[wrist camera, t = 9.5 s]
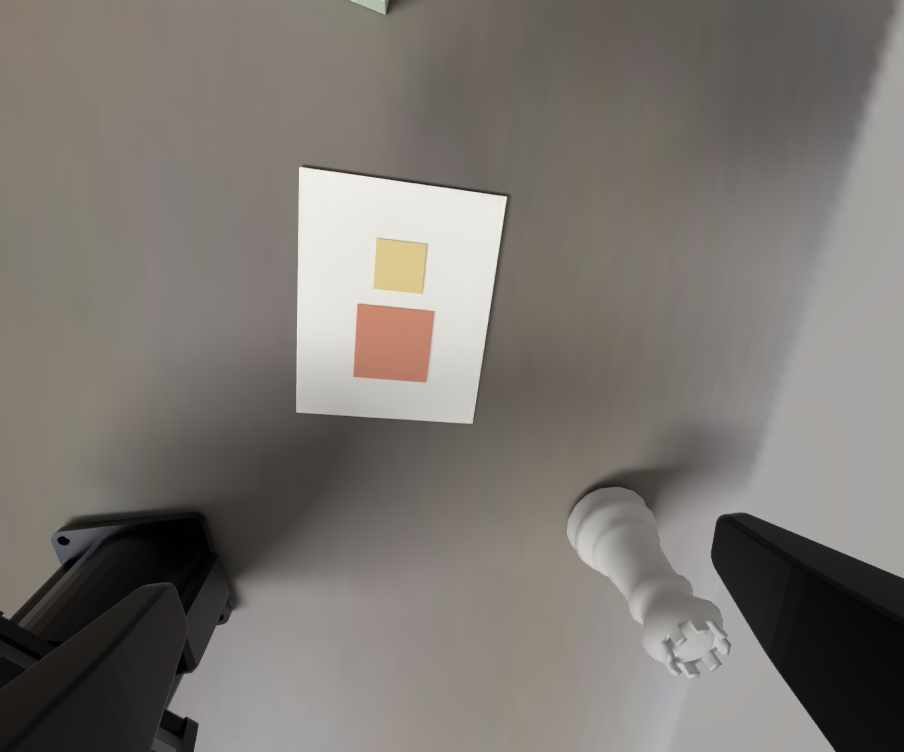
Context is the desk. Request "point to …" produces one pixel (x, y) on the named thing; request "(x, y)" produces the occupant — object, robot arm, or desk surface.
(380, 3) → the baseplate
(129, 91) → the desk surface
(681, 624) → the rook chess piece
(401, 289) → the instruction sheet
